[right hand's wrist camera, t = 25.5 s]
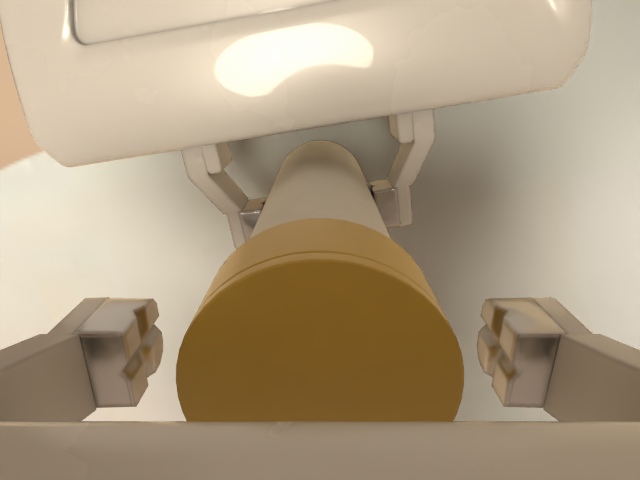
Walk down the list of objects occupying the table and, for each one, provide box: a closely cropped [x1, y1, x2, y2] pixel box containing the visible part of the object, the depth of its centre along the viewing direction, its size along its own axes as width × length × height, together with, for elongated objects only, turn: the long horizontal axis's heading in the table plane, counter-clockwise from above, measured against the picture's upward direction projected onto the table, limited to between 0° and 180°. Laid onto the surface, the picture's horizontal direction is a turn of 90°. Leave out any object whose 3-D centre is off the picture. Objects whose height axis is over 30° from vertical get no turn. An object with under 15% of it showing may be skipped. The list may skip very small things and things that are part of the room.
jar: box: [250, 141, 391, 239], centre depth 16 cm, size 5×5×16 cm
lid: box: [176, 218, 464, 422], centre depth 9 cm, size 5×5×2 cm
